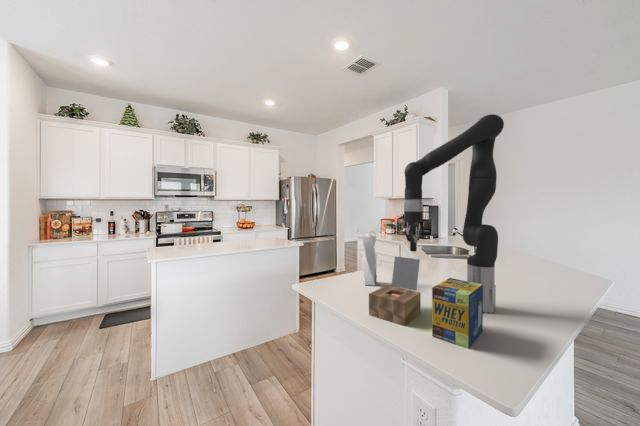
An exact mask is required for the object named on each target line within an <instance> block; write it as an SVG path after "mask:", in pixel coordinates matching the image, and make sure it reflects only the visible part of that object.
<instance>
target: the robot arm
mask: <svg viewBox="0 0 640 426" xmlns="http://www.w3.org/2000/svg"><path fill="white" fill-rule="evenodd" d="M504 126H505V121H504V119H503V118H502V117H501V116H500V115H498V114H486V115H484V116H483V117H481V118H480V119H478V120H477V122H475V123H473V125H471V127H469V128H467V129H466V130H465V131H463V132H462V133H461V134H459V135H457V136H456V137H454V138H452V139H451V140H448V141H446V142H445V143H444V144H441V145H440V146H438V147H436V148H435V149H433V150H431V151H430V152H428V153H426V154H425V155H424V156H423V157H422V158H421V159H418V160H417V161H412V162H409V163H408V164H407V165H406V166H405V168H404V182H405V184H404V185H405V187H404V203H403V204H404V205H403V221H404V222H406V223H407V224H406V225H407V226H406V229H404V234H405V237H406V240H407V242H409V246H410V247H409V250H410V251H411V252H415V253H416V252H417V250H418V248H417V247H418V241H419V240H420V238H421V234H422V231H423V229H422V228H421V227H420V223H421V222H423V221H424V204H423V203H424V202H423V177H424V176H425V175H426V174H428V173H429V172H431V171H432V170H435V169H437V168H439V167H441V166H442V165H444V164H446V163H448V162H450V161H451V160H453V159H454V158H456V157H457V156H458V155H460V154H461V153H463V152H464V151H466V150H468V148H470V147H471V148H472V149H471V150H472V154H471V155H472V158H471V162H470V168H469V169H470V171H469V180H468V191H467V192H468V194H467V204H466V212H465V217H464V222H463V229H462V239H463V241H464V244H466V246H469V247H473V248H475V253H474V254H472V255H469V256H467V258H466V269H467V270H466V281H468V282H473V283H479V284H483V313H488V314H493V313H495V310H496V309H497V305H496V302H497V300H496V296H497V294H496V292H497V291H496V290H497V289H496V288H497V285H496V283H495V276H496V275H495V271H496V270H495V268H496V267H495V265H496V260H497V258H498V248H499V247H498V246H499V235H498V231H497V229H496V227H495V226H493V225H490V224H483V218H484V217H483V216H484V212H485V210H486V208H487V206H488V205H489V203H490V201H491V200H492V198H493V197H494V196H495V193H496V190H497V189H496V188H497V177H498V176H497V168H496V164H495V163H496V162H495V159H494V148H495V142H496V138H497V137H498V136H499V135H500V134H501V133H502V131H503V129H504Z"/></svg>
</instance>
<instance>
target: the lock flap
mask: <svg viewBox="0 0 640 426" xmlns="http://www.w3.org/2000/svg"><path fill="white" fill-rule="evenodd" d="M419 269H420V259H419V258H411V257H410V258H409V257H402V256H396V255H395V256H394V262H393V270H392V271H393V272H392V278H391V279H392V280H391V285H390V286H393V287H397V288H402V289H407V290H412V291H416V292H418V290H417V289H418V282H419V281H418V279H419Z"/></svg>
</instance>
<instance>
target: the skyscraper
mask: <svg viewBox="0 0 640 426" xmlns="http://www.w3.org/2000/svg"><path fill="white" fill-rule="evenodd" d="M372 233H373V234H374V235H373V234H372ZM361 239H362V242H363V243H362V244H363V254H362V269H363V271H362V272H363V277H364V280H363V284H364V286H365V287H379V286H380V284H379V283H378V280H377V278H378V277H377V276H378V275H377V256H376V249H375V246H376V241H377V234H376V232H374V231H369V233H362V235H361Z"/></svg>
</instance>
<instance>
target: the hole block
mask: <svg viewBox="0 0 640 426" xmlns="http://www.w3.org/2000/svg"><path fill="white" fill-rule="evenodd" d="M391 294H397V295H400V296H399V297H398V296H394V295H391ZM421 301H422V300H421V292H420V291H415V290H411V289H406V288H401V287H396V286H391V285H384V286H382V287H380V288H377V289H375V290H373V291H371V292H368V315H369V316H370V317H374V318H377V319H380V320H384V321H387V322H391V323H394V324H398V325H400V326H403V327H405V326H407V325H408V324H410V322H411V321H413V320H414V319H415V318H417V317H418V316H419V315H420V314H421Z"/></svg>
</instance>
